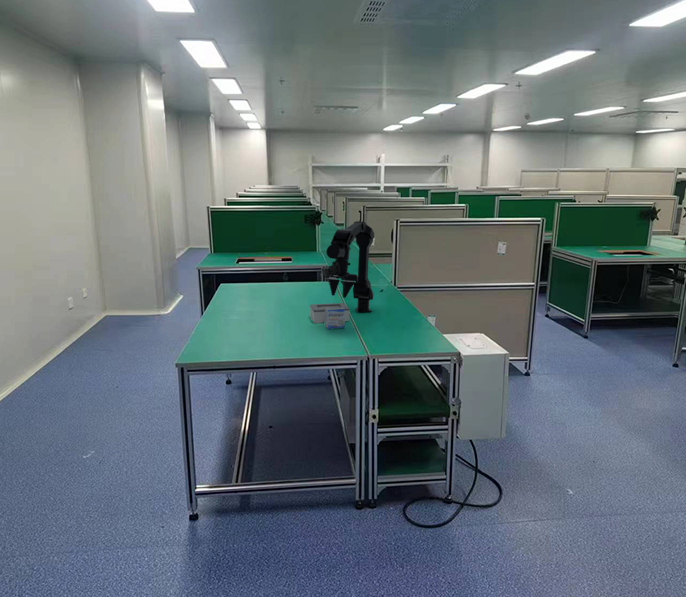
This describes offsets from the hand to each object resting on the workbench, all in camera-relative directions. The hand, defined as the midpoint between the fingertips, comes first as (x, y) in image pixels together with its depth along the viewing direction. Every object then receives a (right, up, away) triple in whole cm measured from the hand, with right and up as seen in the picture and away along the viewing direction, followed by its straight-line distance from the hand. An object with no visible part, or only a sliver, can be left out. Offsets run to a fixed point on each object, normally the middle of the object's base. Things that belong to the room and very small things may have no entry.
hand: (338, 296), depth 204 cm
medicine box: (-2, -14, +5) cm, 15 cm away
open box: (-4, -10, +16) cm, 20 cm away
